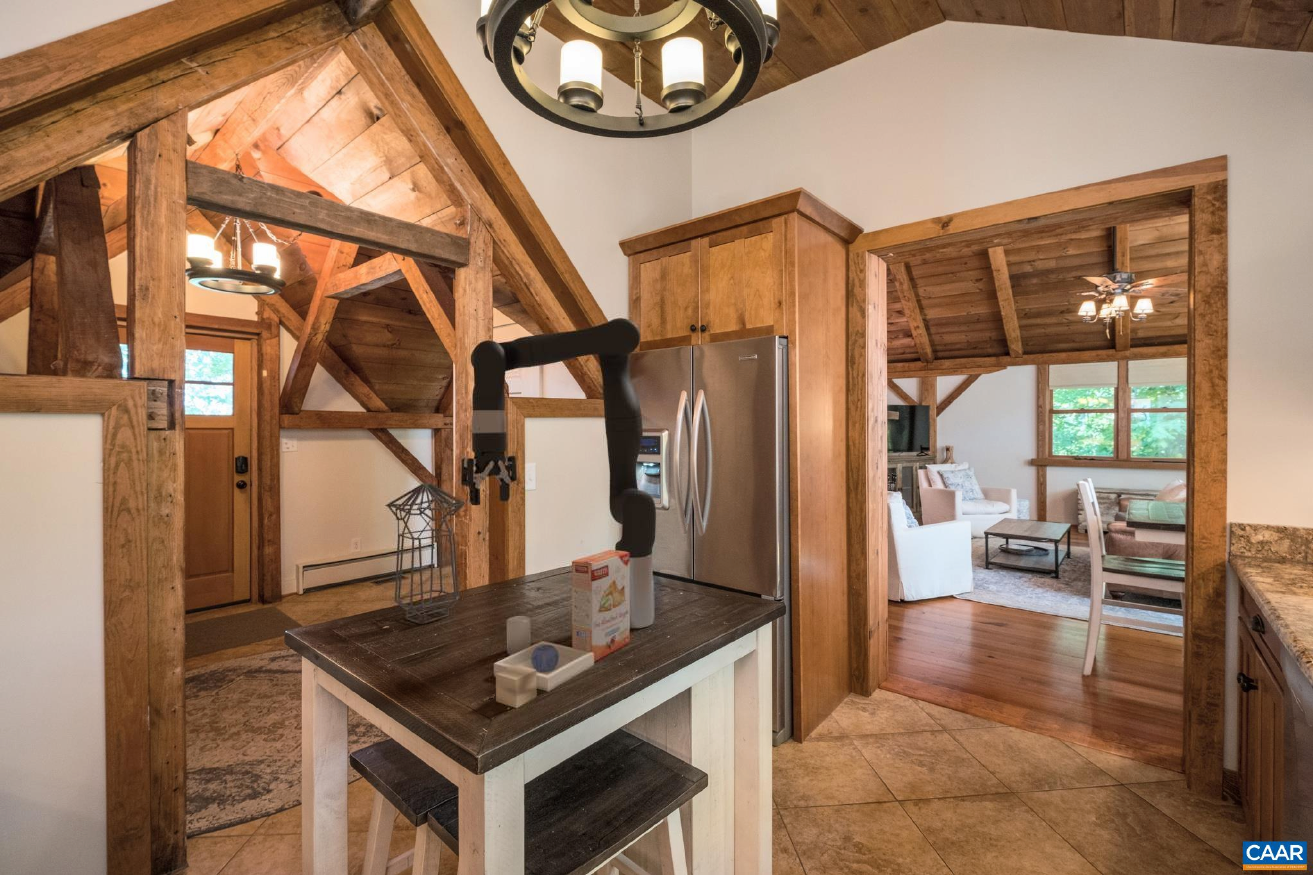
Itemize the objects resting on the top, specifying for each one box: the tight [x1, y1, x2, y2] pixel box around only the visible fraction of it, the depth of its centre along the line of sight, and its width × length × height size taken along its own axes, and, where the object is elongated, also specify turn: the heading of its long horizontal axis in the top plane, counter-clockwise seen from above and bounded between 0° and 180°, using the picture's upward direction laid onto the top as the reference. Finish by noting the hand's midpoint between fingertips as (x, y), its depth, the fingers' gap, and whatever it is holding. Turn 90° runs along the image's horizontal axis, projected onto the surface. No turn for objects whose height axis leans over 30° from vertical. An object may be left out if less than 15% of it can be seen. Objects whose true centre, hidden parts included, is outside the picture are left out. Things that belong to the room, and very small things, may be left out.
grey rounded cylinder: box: [506, 615, 532, 656], centre depth 128 cm, size 5×5×7 cm
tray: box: [493, 640, 595, 692], centre depth 118 cm, size 14×14×2 cm
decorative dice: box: [531, 645, 559, 672], centre depth 118 cm, size 4×4×4 cm
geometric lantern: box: [385, 482, 467, 625], centre depth 153 cm, size 16×16×35 cm
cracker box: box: [571, 549, 631, 663], centre depth 127 cm, size 14×6×21 cm, turn 148°
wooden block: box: [495, 664, 538, 709], centre depth 105 cm, size 5×5×5 cm
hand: (490, 503), depth 132 cm, fingers open, 8 cm apart
